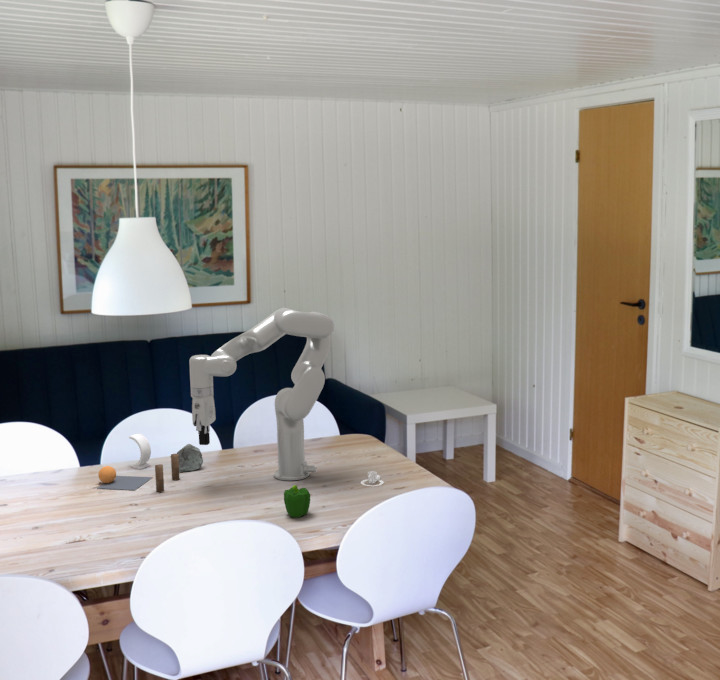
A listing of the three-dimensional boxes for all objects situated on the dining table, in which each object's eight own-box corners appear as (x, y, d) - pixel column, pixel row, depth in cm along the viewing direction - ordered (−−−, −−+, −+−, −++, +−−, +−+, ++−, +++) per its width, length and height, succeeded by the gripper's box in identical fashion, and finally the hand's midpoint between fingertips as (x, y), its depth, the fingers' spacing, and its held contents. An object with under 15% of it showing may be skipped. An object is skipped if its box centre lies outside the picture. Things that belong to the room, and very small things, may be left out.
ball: (121, 477, 288) (115, 462, 288) (113, 483, 282) (107, 467, 282) (106, 482, 289) (101, 466, 289) (98, 487, 284) (92, 471, 283)
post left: (165, 490, 277) (164, 464, 276) (162, 492, 275) (160, 466, 273) (158, 489, 278) (156, 464, 276) (155, 492, 275) (153, 466, 274)
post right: (180, 478, 290) (179, 453, 289) (177, 480, 287) (176, 455, 286) (173, 477, 290) (172, 453, 289) (170, 480, 288) (169, 455, 287)
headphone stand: (139, 464, 308) (137, 433, 306) (151, 466, 305) (150, 435, 303) (130, 467, 304) (129, 436, 302) (143, 469, 301) (141, 438, 299)
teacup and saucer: (373, 478, 288) (373, 467, 287) (390, 483, 282) (390, 471, 281) (355, 484, 282) (355, 472, 281) (372, 489, 276) (372, 477, 275)
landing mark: (152, 477, 291) (152, 477, 291) (134, 490, 277) (134, 489, 277) (116, 476, 294) (116, 475, 294) (97, 488, 280) (96, 488, 280)
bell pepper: (296, 508, 257) (295, 477, 256) (316, 513, 252) (315, 482, 251) (277, 515, 251) (276, 484, 250) (297, 521, 246) (296, 489, 244)
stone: (187, 445, 294) (193, 437, 305) (166, 463, 295) (172, 454, 306) (205, 465, 296) (211, 456, 306) (185, 482, 297) (191, 473, 307)
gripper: (204, 396, 267) (206, 450, 270) (220, 387, 282) (222, 438, 284) (182, 396, 269) (185, 449, 271) (199, 386, 283) (202, 438, 286)
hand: (204, 444), depth 278 cm, fingers closed
